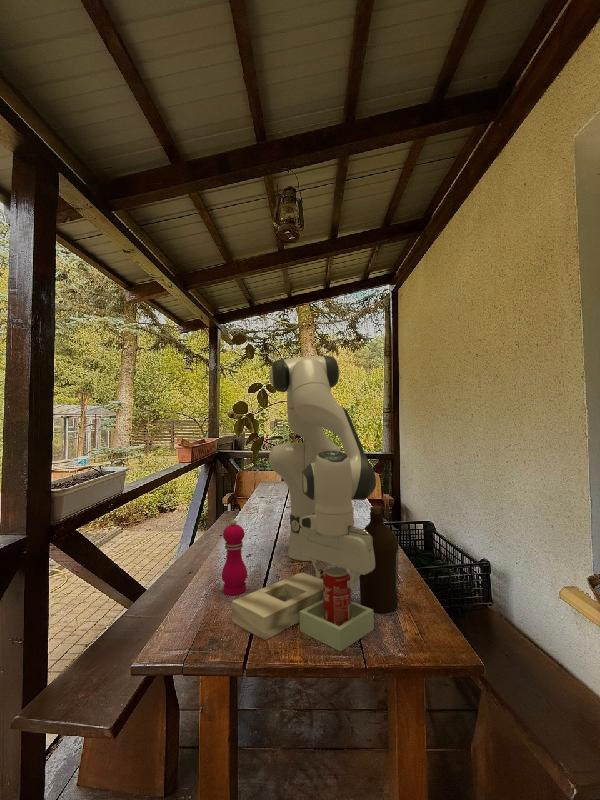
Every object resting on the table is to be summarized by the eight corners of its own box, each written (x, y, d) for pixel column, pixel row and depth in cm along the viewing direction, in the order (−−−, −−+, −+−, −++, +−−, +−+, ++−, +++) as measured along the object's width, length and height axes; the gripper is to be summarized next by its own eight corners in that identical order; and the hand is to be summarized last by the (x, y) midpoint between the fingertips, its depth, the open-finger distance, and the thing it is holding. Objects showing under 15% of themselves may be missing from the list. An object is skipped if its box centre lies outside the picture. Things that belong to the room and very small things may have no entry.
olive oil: (362, 615, 103) (360, 513, 104) (354, 596, 114) (352, 503, 114) (405, 613, 104) (402, 511, 104) (393, 594, 114) (391, 502, 115)
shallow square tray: (333, 612, 105) (333, 594, 105) (373, 629, 97) (373, 609, 97) (299, 631, 97) (299, 611, 97) (340, 651, 88) (340, 629, 88)
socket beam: (302, 590, 119) (301, 572, 119) (335, 603, 110) (334, 583, 110) (232, 621, 101) (232, 601, 102) (264, 640, 93) (264, 617, 93)
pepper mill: (219, 587, 121) (218, 518, 122) (244, 583, 124) (243, 515, 124) (224, 598, 115) (223, 524, 115) (250, 593, 117) (248, 521, 117)
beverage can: (334, 614, 101) (333, 564, 101) (356, 622, 97) (355, 570, 97) (318, 625, 96) (317, 572, 96) (341, 634, 92) (340, 578, 92)
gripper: (380, 527, 92) (381, 591, 92) (311, 512, 107) (313, 567, 106) (362, 534, 88) (364, 601, 87) (294, 517, 102) (295, 575, 102)
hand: (335, 582), depth 97 cm, fingers open, 8 cm apart
